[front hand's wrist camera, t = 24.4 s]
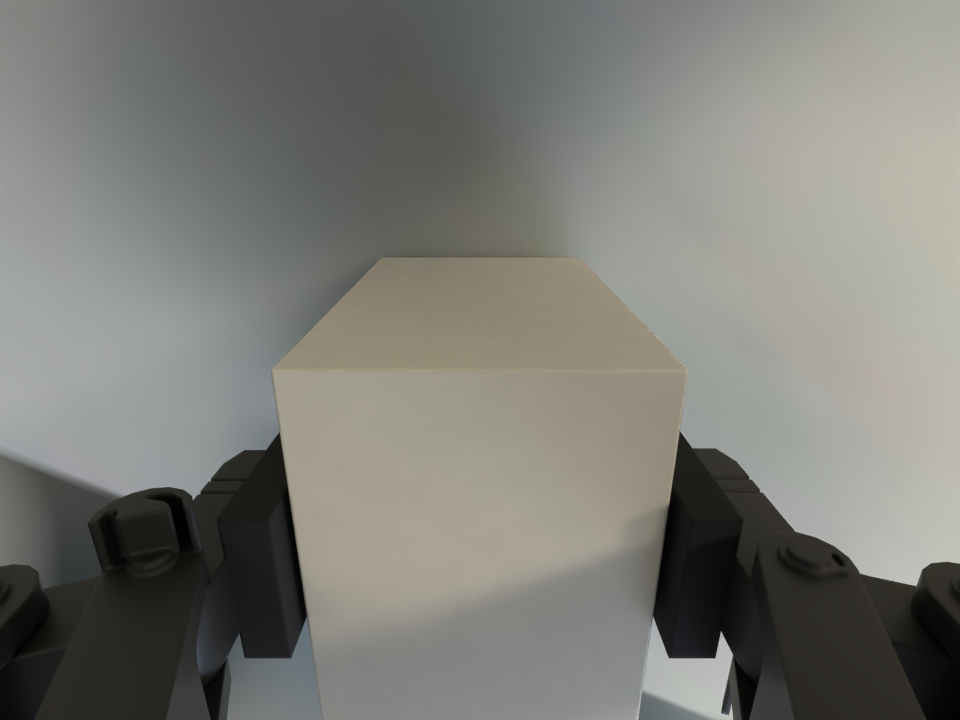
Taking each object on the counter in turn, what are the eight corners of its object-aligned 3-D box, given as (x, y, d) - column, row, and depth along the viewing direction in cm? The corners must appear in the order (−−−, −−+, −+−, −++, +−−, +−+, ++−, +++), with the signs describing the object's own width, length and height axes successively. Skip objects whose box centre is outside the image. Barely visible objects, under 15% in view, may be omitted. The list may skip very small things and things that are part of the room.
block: (380, 257, 16) (268, 369, 8) (581, 256, 16) (690, 370, 8) (394, 468, 18) (321, 727, 10) (567, 468, 18) (638, 728, 10)
